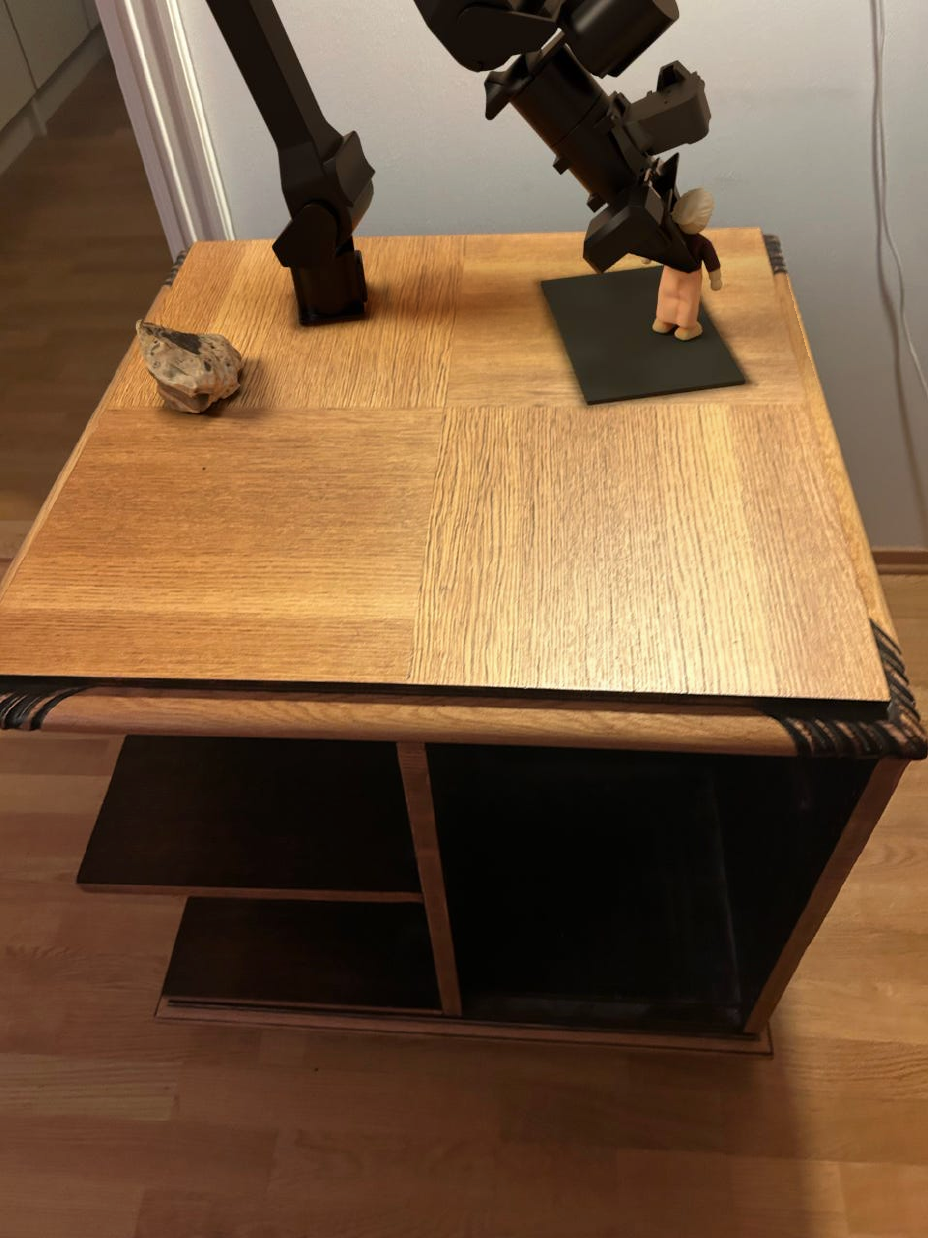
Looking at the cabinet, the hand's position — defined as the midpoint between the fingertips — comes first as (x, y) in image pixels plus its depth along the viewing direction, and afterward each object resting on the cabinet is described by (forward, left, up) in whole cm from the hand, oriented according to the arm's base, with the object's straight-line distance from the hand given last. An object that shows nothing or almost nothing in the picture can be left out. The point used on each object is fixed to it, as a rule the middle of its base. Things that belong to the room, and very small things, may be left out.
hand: (695, 260), depth 79 cm
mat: (-4, +2, -7) cm, 9 cm away
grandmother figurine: (-1, +1, -7) cm, 7 cm away
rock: (-44, +1, -8) cm, 45 cm away
